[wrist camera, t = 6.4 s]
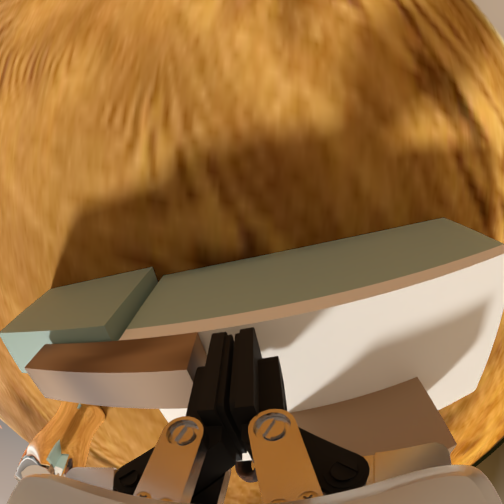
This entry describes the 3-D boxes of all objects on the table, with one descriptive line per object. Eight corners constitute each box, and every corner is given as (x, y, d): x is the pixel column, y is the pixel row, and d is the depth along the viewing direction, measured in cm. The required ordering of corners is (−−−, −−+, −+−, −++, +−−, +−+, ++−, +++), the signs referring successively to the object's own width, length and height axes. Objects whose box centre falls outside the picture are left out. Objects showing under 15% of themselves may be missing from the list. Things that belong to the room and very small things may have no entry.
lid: (491, 238, 12) (577, 286, 5) (463, 374, 16) (505, 434, 9) (134, 317, 14) (68, 424, 6) (202, 439, 18) (190, 522, 10)
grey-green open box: (443, 207, 17) (513, 235, 10) (433, 338, 21) (473, 388, 14) (50, 288, 20) (-2, 333, 12) (107, 392, 24) (81, 445, 16)
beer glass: (67, 410, 26) (26, 488, 12) (57, 378, 24) (1, 466, 10) (111, 429, 27) (77, 518, 12) (105, 400, 24) (59, 503, 10)
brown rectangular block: (197, 331, 11) (186, 369, 9) (212, 369, 12) (205, 407, 10) (44, 344, 12) (24, 367, 10) (62, 372, 13) (45, 397, 10)
